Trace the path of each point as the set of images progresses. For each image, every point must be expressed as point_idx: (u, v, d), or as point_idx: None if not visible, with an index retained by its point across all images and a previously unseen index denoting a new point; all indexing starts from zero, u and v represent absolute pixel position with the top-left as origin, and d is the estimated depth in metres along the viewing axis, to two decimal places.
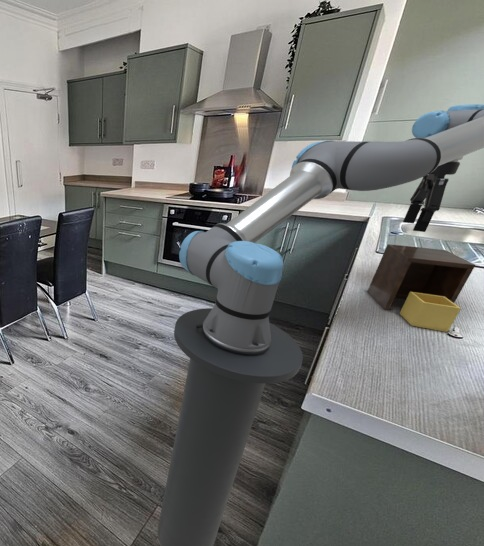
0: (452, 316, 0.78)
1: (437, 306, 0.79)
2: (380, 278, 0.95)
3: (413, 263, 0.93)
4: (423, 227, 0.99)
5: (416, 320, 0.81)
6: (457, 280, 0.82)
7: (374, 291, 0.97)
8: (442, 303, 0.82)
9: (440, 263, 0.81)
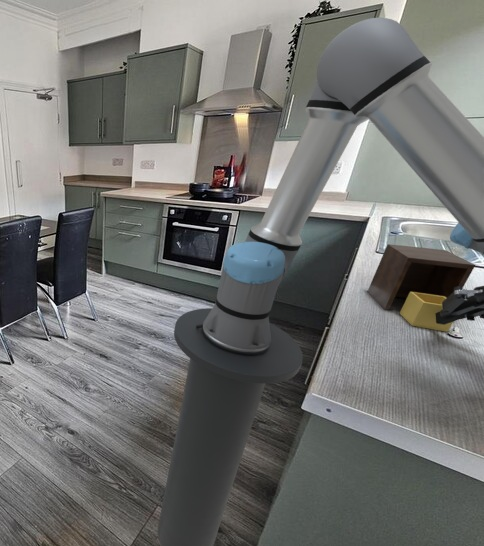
0: None
1: (437, 306, 0.79)
2: (380, 278, 0.95)
3: (413, 263, 0.93)
4: (440, 318, 0.77)
5: (416, 320, 0.81)
6: (457, 280, 0.82)
7: (374, 291, 0.97)
8: None
9: (440, 263, 0.81)
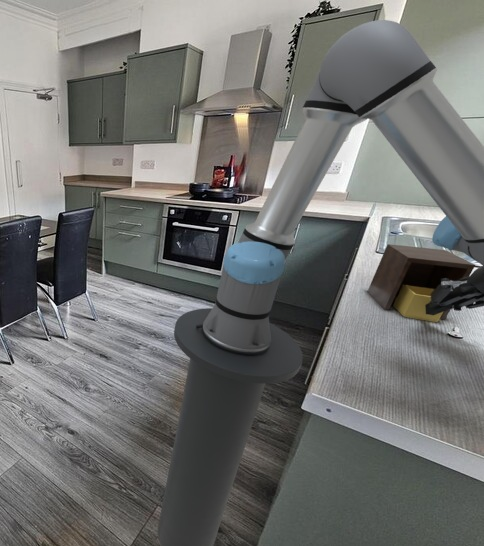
0: None
1: (427, 298, 0.83)
2: (380, 278, 0.95)
3: (413, 263, 0.93)
4: (429, 309, 0.81)
5: (408, 311, 0.86)
6: (457, 280, 0.82)
7: (374, 291, 0.97)
8: None
9: (440, 263, 0.81)
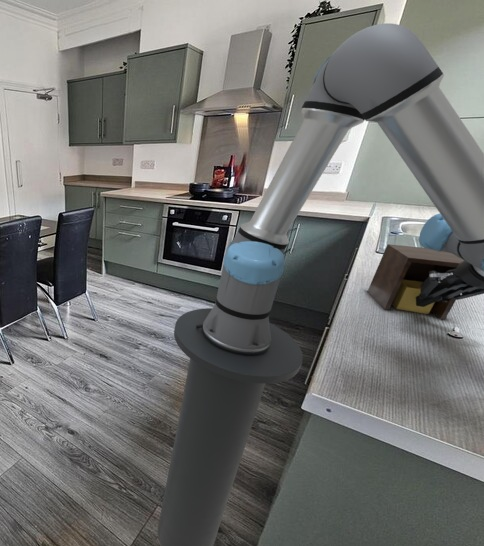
0: None
1: (419, 290, 0.87)
2: (380, 278, 0.95)
3: (413, 263, 0.93)
4: (419, 301, 0.85)
5: (400, 303, 0.90)
6: None
7: (374, 291, 0.97)
8: None
9: (440, 263, 0.81)
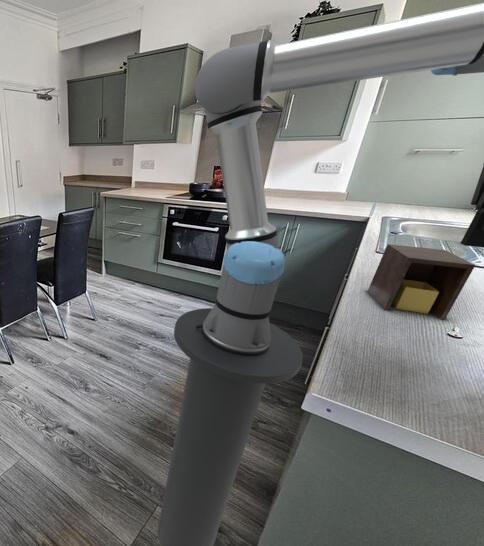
0: (431, 299, 0.86)
1: (418, 290, 0.87)
2: (380, 278, 0.95)
3: (413, 263, 0.93)
4: (482, 239, 0.59)
5: (399, 303, 0.90)
6: (457, 280, 0.82)
7: (374, 291, 0.97)
8: (423, 288, 0.91)
9: (440, 263, 0.81)
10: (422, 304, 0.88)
